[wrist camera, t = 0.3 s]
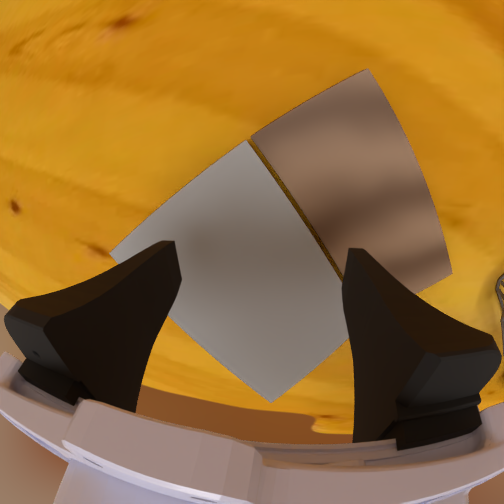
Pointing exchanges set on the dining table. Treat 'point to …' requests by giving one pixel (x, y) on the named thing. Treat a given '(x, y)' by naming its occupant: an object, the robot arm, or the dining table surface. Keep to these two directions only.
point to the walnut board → (359, 180)
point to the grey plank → (247, 274)
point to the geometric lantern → (500, 294)
